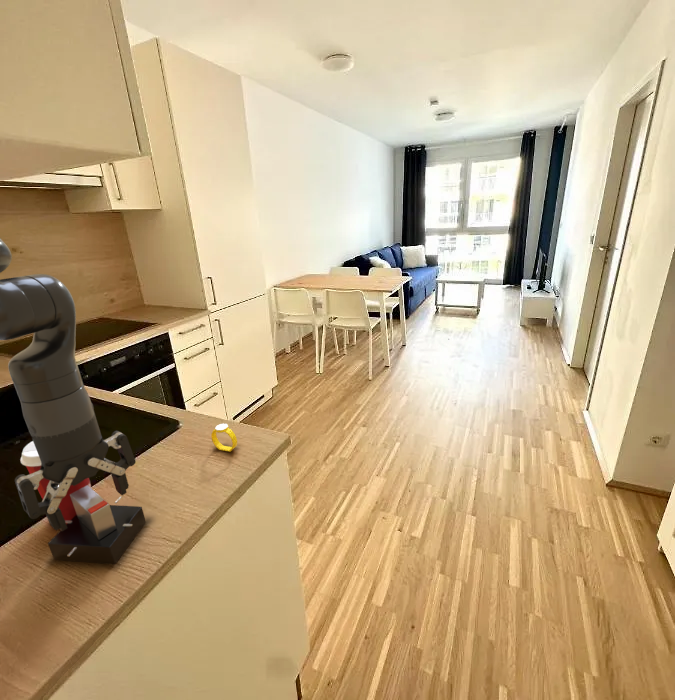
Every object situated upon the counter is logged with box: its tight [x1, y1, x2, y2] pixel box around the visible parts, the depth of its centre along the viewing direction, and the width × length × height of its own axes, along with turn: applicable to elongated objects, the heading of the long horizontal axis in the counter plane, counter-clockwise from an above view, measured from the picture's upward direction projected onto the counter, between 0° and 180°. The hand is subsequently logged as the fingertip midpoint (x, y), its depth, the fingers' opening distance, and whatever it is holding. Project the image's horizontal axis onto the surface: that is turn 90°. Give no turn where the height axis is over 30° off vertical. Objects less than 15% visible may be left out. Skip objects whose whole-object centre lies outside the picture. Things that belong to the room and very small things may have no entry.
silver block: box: [70, 485, 117, 540], centre depth 56 cm, size 8×3×5 cm, turn 55°
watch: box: [210, 423, 238, 452], centre depth 80 cm, size 6×3×6 cm, turn 69°
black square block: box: [47, 495, 147, 565], centre depth 58 cm, size 12×12×4 cm
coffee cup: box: [19, 440, 92, 525], centre depth 61 cm, size 8×8×15 cm
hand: (93, 509), depth 56 cm, fingers open, 8 cm apart
